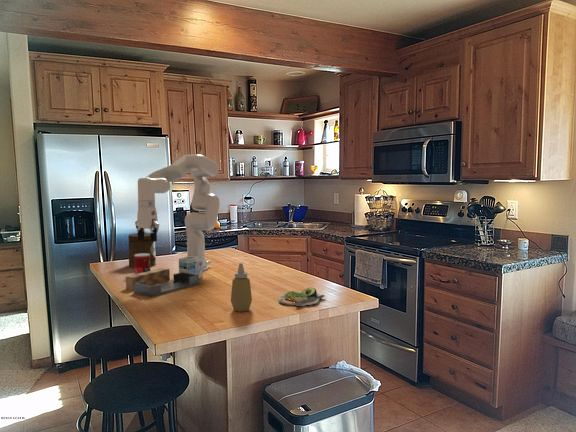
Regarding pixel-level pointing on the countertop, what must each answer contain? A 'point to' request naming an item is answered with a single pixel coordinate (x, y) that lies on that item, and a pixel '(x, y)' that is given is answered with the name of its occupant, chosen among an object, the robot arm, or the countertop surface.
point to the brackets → (167, 285)
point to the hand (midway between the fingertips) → (147, 240)
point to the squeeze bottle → (241, 291)
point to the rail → (148, 277)
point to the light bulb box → (191, 265)
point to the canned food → (142, 262)
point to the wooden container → (141, 248)
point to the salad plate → (301, 297)
